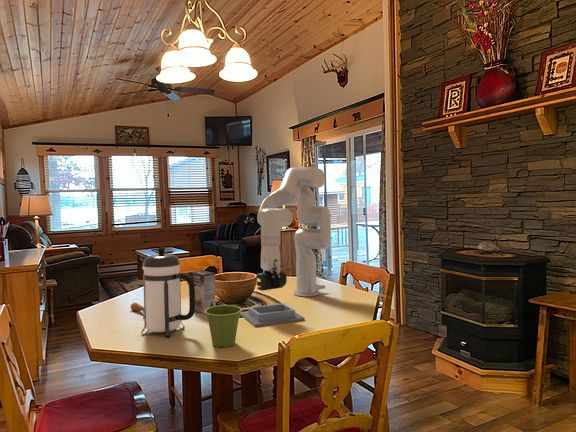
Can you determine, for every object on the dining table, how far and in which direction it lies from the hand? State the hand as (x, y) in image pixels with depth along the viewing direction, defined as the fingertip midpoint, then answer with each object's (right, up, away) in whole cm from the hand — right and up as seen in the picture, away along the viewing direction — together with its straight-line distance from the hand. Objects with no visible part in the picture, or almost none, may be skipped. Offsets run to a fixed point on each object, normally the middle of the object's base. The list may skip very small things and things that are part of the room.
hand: (271, 285), depth 170 cm
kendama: (-52, -13, +7) cm, 54 cm away
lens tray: (0, -13, +1) cm, 13 cm away
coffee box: (-29, -13, +12) cm, 34 cm away
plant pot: (-14, -14, -29) cm, 36 cm away
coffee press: (-36, -14, -16) cm, 42 cm away
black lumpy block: (0, -2, 0) cm, 2 cm away
